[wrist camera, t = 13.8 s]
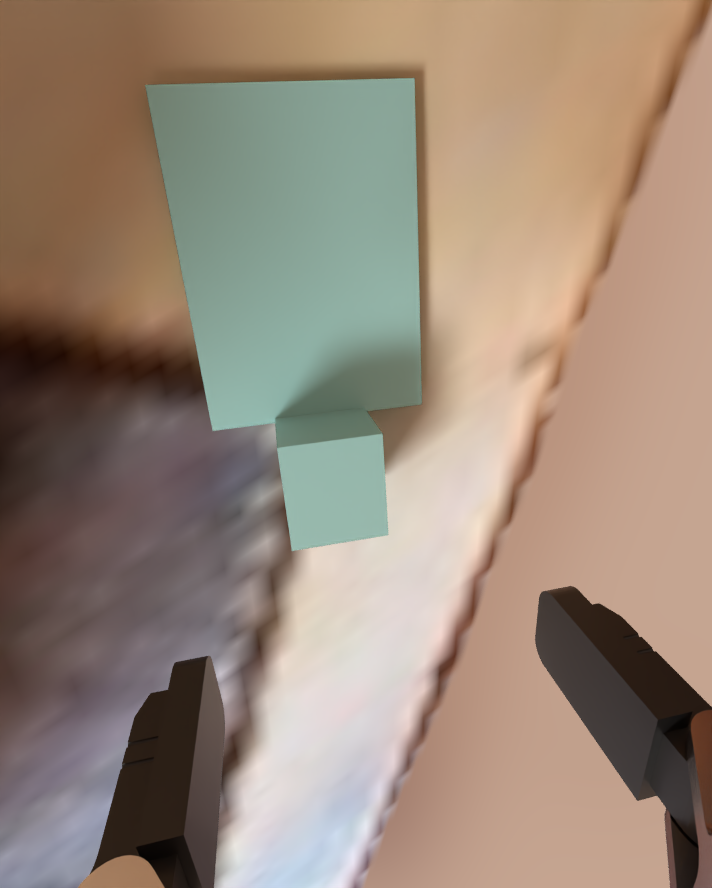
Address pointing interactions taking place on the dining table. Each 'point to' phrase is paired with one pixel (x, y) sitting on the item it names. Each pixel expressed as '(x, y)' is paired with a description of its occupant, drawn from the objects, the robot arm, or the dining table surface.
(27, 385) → the dining table surface
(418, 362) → the lid
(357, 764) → the dining table surface
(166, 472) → the dining table surface
